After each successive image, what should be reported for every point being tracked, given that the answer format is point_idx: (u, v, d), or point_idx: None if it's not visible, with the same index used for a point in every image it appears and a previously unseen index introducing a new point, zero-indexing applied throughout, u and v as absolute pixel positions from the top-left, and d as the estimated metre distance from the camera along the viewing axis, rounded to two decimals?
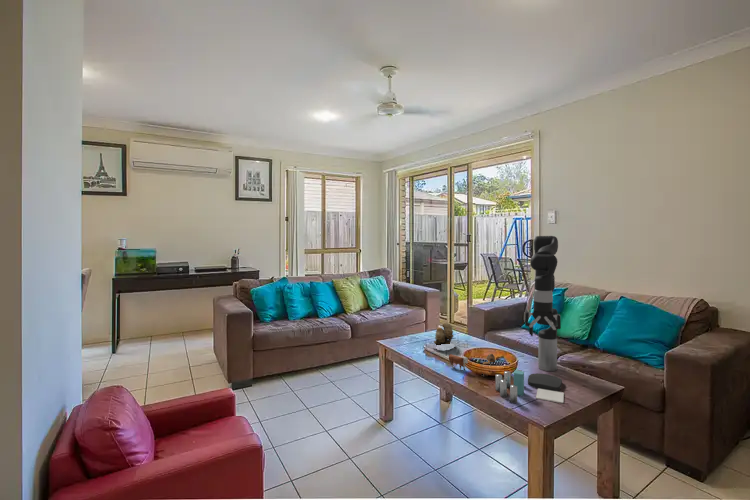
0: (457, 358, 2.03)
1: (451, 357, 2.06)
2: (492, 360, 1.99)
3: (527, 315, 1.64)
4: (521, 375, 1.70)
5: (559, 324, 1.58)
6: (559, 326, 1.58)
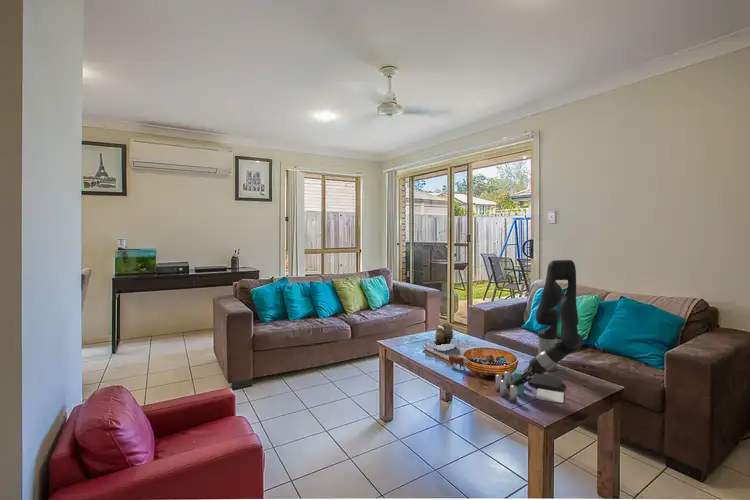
0: (457, 358, 2.03)
1: (451, 357, 2.06)
2: (491, 361, 1.98)
3: None
4: None
5: None
6: None
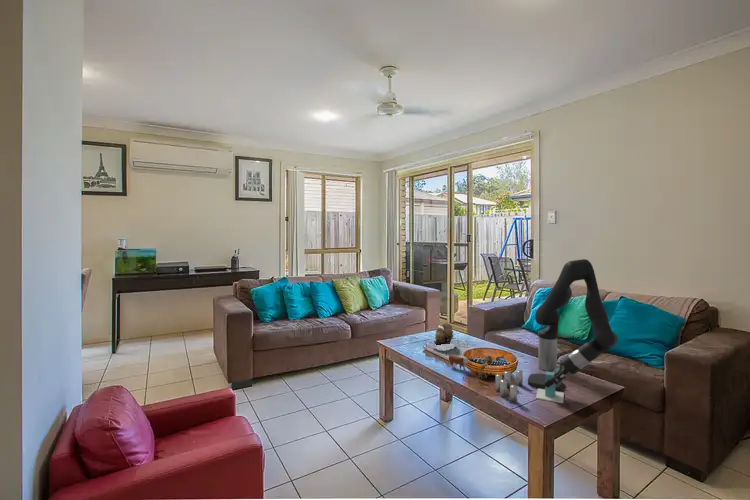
0: (457, 358, 2.03)
1: (451, 357, 2.06)
2: (490, 362, 1.96)
3: None
4: None
5: None
6: None
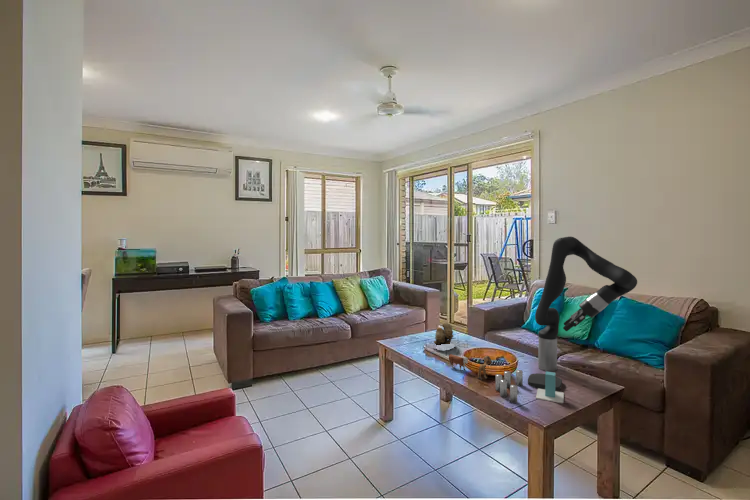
0: (457, 358, 2.03)
1: (451, 357, 2.06)
2: (489, 362, 1.96)
3: None
4: (553, 376, 1.67)
5: None
6: None
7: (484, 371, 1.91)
